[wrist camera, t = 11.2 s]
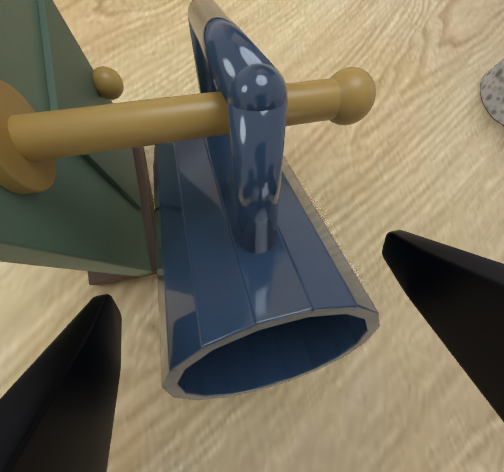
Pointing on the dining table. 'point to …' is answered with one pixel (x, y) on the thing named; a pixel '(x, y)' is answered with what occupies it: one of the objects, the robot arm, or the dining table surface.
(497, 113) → the mug
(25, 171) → the door
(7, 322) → the dining table surface
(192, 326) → the mug
